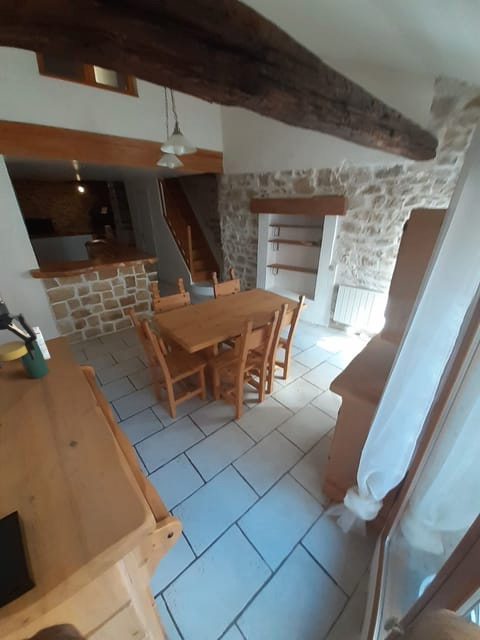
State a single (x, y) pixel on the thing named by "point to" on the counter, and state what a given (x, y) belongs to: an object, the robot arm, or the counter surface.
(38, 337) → the syrup box
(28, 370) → the green upright cylinder
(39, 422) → the counter surface
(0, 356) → the lid
